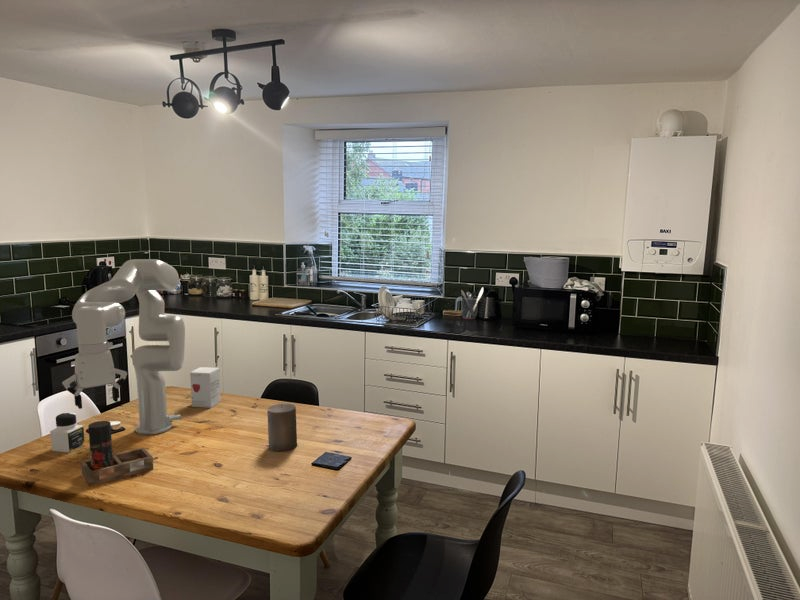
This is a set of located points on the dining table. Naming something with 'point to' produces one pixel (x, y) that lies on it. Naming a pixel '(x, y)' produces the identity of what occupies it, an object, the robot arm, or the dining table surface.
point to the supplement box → (205, 387)
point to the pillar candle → (282, 427)
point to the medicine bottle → (67, 433)
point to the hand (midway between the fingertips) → (97, 404)
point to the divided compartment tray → (119, 466)
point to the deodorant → (100, 445)
